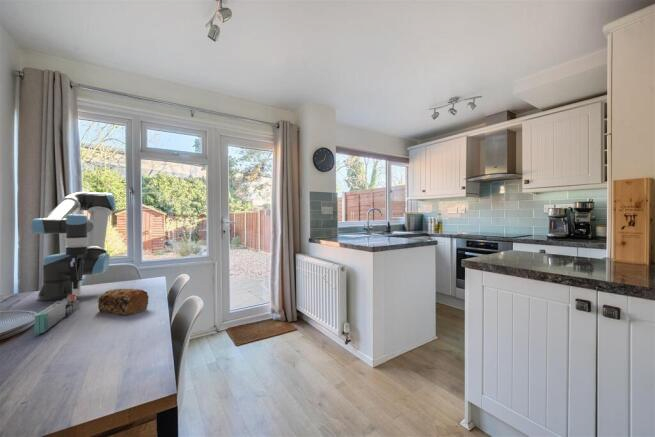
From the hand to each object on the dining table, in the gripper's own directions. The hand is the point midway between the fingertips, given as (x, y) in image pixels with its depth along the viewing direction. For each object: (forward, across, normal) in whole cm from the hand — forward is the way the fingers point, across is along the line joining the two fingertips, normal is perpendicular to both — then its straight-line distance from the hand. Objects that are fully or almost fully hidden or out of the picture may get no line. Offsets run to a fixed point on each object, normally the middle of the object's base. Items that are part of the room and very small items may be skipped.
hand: (76, 294), depth 128 cm
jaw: (+5, +24, +1) cm, 24 cm away
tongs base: (+6, +20, 0) cm, 21 cm away
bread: (+6, +17, +21) cm, 28 cm away
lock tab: (+1, +6, 0) cm, 6 cm away
